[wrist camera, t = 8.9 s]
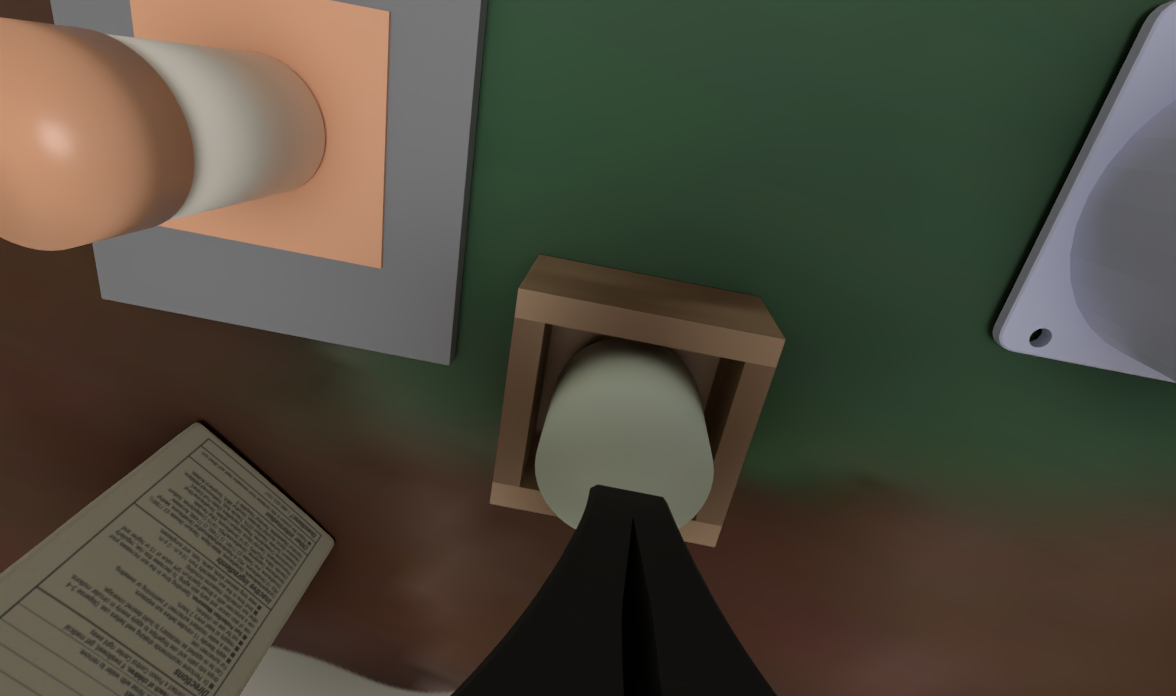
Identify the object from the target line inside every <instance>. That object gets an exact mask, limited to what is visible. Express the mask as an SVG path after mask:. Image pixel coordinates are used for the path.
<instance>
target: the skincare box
mask: <svg viewBox="0 0 1176 696" xmlns="http://www.w3.org/2000/svg"><path fill="white" fill-rule="evenodd" d="M333 546H334V540H333V539H332V538H331V536H330V535H328V534H327V533H326V532H325V531H324V530H323V529H322V528H321V527H320V526H319V525H318V524H316V523H315V522H314V521H313V520H312V519H311V518H310V517H309V516H308V515H307V514H305V513H304V512H303V511H302V510H301V509H300V508H299V507H297V506H296V505H295V504H294V503H293V502H292V501H290V500H289V499H288V498H287V497H286V496H285V495H284V494H283V493H281V492H280V491H279V490H278V489H277V488H276V487H274V486H273V485H272V484H271V483H270V482H269V481H268V480H267V479H265V478H264V477H263V476H262V475H261V474H260V473H259V472H257V471H256V470H255V469H254V468H253V467H252V466H250V465H249V464H248V463H247V462H246V461H245V460H244V459H242V458H241V457H240V456H239V455H238V454H237V453H235V452H234V451H233V450H232V449H231V448H229V447H228V446H227V445H226V444H224V443H223V442H222V441H221V440H220V439H218V438H217V437H216V436H215V435H214V434H213V433H211V432H210V431H209V430H208V429H207V428H205V427H204V426H203V425H201V424H200V423H194V424H192V425H191V426H190V427H188V428H187V429H185V430H184V431H183V432H181V433H180V434H179V435H177V436H176V437H175V438H173V439H172V440H171V441H170V442H168V443H167V444H166V445H164V446H163V447H162V448H161V449H159V450H158V451H157V452H156V453H154V454H153V455H152V456H151V457H149V458H148V459H147V460H146V461H144V462H143V463H142V464H140V465H139V466H138V467H136V468H135V469H134V470H133V471H131V472H130V473H129V474H127V475H126V476H125V477H123V478H122V479H121V480H120V481H118V482H117V483H116V484H114V485H113V486H112V487H110V488H109V489H108V490H107V491H105V492H104V493H103V494H101V495H100V496H99V497H97V498H96V499H95V500H94V501H92V502H91V503H90V504H88V505H87V506H86V507H85V508H83V509H82V510H81V511H79V512H78V513H77V514H76V515H74V516H73V517H72V518H71V519H69V520H68V521H67V522H66V523H64V524H63V525H62V526H61V527H59V528H58V529H57V530H56V531H54V532H53V533H52V534H51V535H49V536H48V537H47V538H46V539H44V540H43V541H42V542H40V543H39V544H38V545H37V546H35V547H34V548H33V549H32V550H30V551H29V552H28V553H26V554H25V555H24V556H23V557H21V558H20V559H19V560H18V561H16V562H15V563H14V564H12V565H11V566H10V567H9V568H7V569H6V570H5V571H3V572H2V573H1V574H0V696H240V694H241V692H242V691H243V689H244V688H245V686H246V684H247V683H248V681H249V679H250V678H251V676H252V675H253V673H254V671H255V670H256V668H257V667H258V665H259V663H260V662H261V660H262V659H263V657H264V656H265V654H266V652H267V651H268V649H269V648H270V646H271V644H272V643H273V641H274V640H275V638H276V637H277V635H278V634H279V632H280V630H281V629H282V627H283V626H284V624H285V623H286V621H287V619H288V618H289V616H290V615H291V613H292V611H293V610H294V608H295V607H296V605H297V603H298V602H299V600H300V599H301V597H302V595H303V594H304V592H305V591H306V589H307V587H308V586H309V584H310V583H311V581H312V579H313V578H314V576H315V575H316V573H317V571H318V570H319V568H320V567H321V565H322V563H323V562H324V560H325V559H326V557H327V556H328V554H329V553H330V551H331V549H332V548H333Z"/></svg>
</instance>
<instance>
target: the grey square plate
mask: <svg viewBox="0 0 1176 696" xmlns="http://www.w3.org/2000/svg"><path fill="white" fill-rule="evenodd" d="M50 1H51V6H52V12H53V18H54V24H56V25H64V26H72V27H80V28H85V29H90V30H95V31H98V32H100V33H103V34H110V35H118V36H126V37H135V38H143V39H151V40H159V41H168V42H176V43H184V44H193V45H201V46H209V47H218V48H226V49H234V50H243V51H251V52H257V53H262V54H265V55H268V56H271V57H273V58H275V59H277V60H279V61H281V62H282V63H284V64H285V65H287V66H288V67H289V68H290V69H292V70H293V71H294V72H295V73H296V74H297V75H298V76H299V77H300V78H301V79H302V80H303V81H304V83H305V84H306V85H307V87H308V88H309V90H310V91H311V93H312V95H313V96H314V98H315V100H316V102H317V104H318V107H319V109H320V112H321V115H322V119H323V124H324V131H325V146H324V153H323V156H322V160H321V162H320V165H319V167H318V169H317V170H316V172H315V174H314V175H313V176H312V177H311V178H310V180H308V181H307V182H306V183H305V184H304V185H302V186H300V187H299V188H297V189H294V190H292V191H289V192H284V193H280V194H276V195H272V196H268V197H264V198H260V199H256V200H252V201H247V202H243V203H239V204H235V205H231V206H227V207H223V208H219V209H215V210H211V211H206V212H202V213H198V214H194V215H190V216H186V217H182V218H178V219H174V220H169V221H166V222H164V223H162V224H160V225H158V226H155V227H153V228H149V229H145V230H141V231H137V232H133V233H129V234H125V235H121V236H117V237H113V238H109V239H105V240H101V241H97V242H93V243H92V244H93V250H94V255H95V261H96V267H97V273H98V279H99V284H100V290H101V296H102V299H107V300H112V301H117V302H123V303H128V304H133V305H138V306H143V307H148V308H154V309H159V310H164V311H169V312H174V313H179V314H185V315H190V316H195V317H200V318H205V319H211V320H216V321H221V322H226V323H231V324H236V325H242V326H247V327H252V328H257V329H262V330H267V331H273V332H278V333H283V334H288V335H293V336H298V337H304V338H309V339H314V340H319V341H324V342H330V343H335V344H340V345H345V346H350V347H355V348H361V349H366V350H371V351H376V352H381V353H386V354H392V355H397V356H402V357H407V358H412V359H418V360H423V361H428V362H433V363H438V364H443V365H450V364H451V362H452V361H453V360H454V358H455V355H456V344H457V333H458V322H459V311H460V300H461V289H462V278H463V267H464V256H465V245H466V234H467V223H468V212H469V201H470V190H471V179H472V169H473V158H474V147H475V136H476V125H477V114H478V103H479V92H480V81H481V70H482V59H483V48H484V37H485V26H486V15H487V4H488V0H50Z"/></svg>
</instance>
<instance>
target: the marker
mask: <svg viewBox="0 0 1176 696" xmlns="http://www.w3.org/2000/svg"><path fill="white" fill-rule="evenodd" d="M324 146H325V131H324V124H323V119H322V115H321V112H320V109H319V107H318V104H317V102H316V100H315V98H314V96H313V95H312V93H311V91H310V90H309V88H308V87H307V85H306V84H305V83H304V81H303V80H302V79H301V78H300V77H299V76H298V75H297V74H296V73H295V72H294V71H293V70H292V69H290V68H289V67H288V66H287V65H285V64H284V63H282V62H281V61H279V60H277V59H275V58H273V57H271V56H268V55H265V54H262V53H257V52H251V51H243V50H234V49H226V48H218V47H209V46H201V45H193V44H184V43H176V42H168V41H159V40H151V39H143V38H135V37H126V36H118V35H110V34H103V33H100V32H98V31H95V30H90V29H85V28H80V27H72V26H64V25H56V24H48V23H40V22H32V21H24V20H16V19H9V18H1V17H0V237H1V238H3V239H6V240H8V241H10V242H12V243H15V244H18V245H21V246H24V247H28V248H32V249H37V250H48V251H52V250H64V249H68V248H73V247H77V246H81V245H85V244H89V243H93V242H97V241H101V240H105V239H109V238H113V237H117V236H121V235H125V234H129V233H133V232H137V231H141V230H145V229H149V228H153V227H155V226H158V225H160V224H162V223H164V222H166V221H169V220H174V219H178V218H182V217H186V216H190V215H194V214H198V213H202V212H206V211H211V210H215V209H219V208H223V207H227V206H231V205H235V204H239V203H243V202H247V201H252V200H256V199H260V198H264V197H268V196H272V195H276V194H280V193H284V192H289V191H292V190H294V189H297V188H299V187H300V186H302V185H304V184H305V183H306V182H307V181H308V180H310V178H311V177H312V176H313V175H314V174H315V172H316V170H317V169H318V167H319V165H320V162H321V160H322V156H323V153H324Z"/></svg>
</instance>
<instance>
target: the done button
mask: <svg viewBox="0 0 1176 696" xmlns="http://www.w3.org/2000/svg"><path fill="white" fill-rule="evenodd" d="M535 475H536V479H537V484H538V487H539V489H540V492H541V494H542V496H543V498H544V500H545V501H546V503H547V504H548V506H549V507H550V508H551V510H552V511H553V512H554V513H555V514H556V515H557V516H558V517H559V518H560V519H561V520H563V521H564V522H565V523H566V524H568V525H569V526H571V527H572V528H574V529H575V530H576V529H577V526H578V524H579V522H580V520H581V518H582V515H583V513H584V510H585V508H586V505H587V500H588V495H589V491H590V488H591V487H593V486H595V485H597V484H598V485H604V486H609V487H614V488H619V489H624V490H630V491H635V492H640V493H645V494H650V495H656V496H661V497H664V499H665V500H666V502H667V503H668V506H669V508H670V511H671V513H672V515H673V518H674V520H675V522H676V525H677V527H678V529H679V528H681V527H682V526H684V525H685V524H686V523H688V522H689V521H690V520H691V519H692V518H693V517H694V516H695V515H696V514H697V513H698V512H699V510H700V509H701V508H702V507H703V505H704V503H705V501H706V500H707V498H708V495H709V493H710V490H711V487H712V483H713V475H714V466H713V458H712V453H711V448H710V443H709V438H708V433H707V429H706V424H705V419H704V414H703V409H702V404H701V399H700V394H699V390H698V386H697V383H696V381H695V378H694V376H693V374H692V372H691V371H690V369H689V368H688V366H687V365H686V364H685V363H684V361H683V360H681V359H680V358H679V357H678V356H677V355H676V354H675V353H673V352H672V351H671V350H669V349H668V348H666V347H664V346H660V345H655V344H650V343H645V342H640V341H635V340H629V339H624V338H619V337H617V338H610V339H605V340H601V341H599V342H596V343H593V344H591V345H589V346H587V347H585V348H584V349H582V350H581V351H579V352H578V353H577V354H575V355H574V356H573V357H572V358H571V359H570V360H569V361H568V363H567V364H566V365H565V366H564V368H563V369H562V371H561V373H560V374H559V377H558V379H557V382H556V385H555V388H554V392H553V395H552V399H551V402H550V406H549V409H548V413H547V416H546V420H545V423H544V427H543V431H542V434H541V438H540V441H539V445H538V448H537V452H536V458H535Z"/></svg>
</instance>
